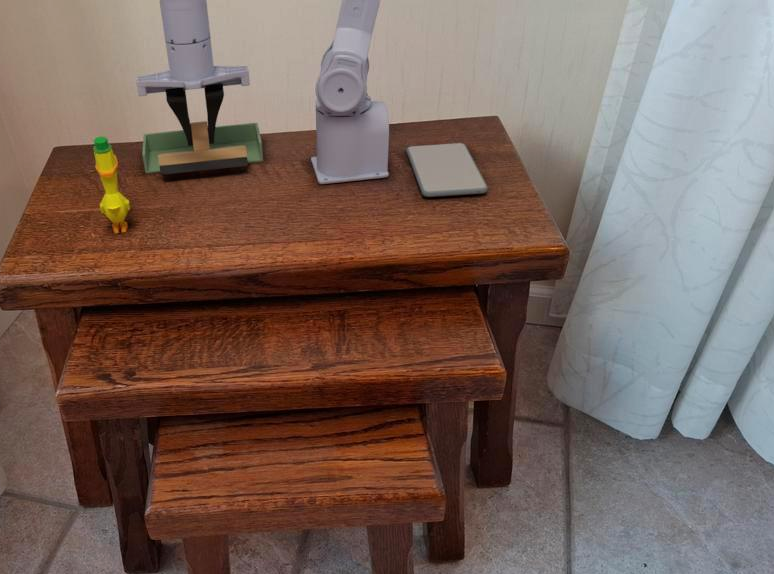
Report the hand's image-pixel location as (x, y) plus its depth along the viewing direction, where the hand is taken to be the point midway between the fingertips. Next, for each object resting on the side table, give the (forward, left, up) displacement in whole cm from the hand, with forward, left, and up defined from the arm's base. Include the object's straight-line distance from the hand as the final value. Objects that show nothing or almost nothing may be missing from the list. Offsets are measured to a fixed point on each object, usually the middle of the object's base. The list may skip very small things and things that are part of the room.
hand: (201, 141), depth 105 cm
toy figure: (+11, +14, -4) cm, 19 cm away
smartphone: (-32, +8, -4) cm, 33 cm away
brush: (0, +2, -3) cm, 4 cm away
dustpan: (0, -6, -4) cm, 7 cm away
